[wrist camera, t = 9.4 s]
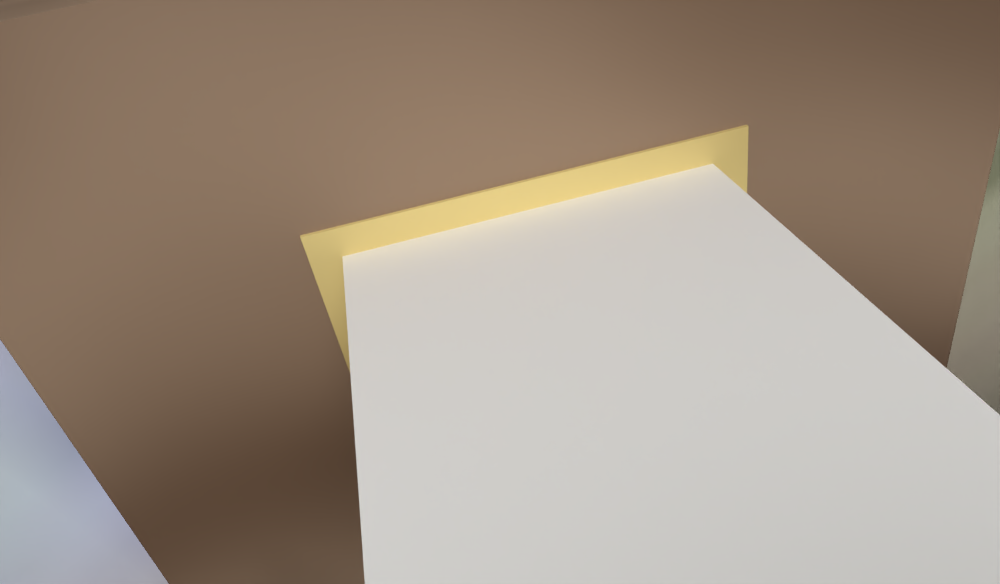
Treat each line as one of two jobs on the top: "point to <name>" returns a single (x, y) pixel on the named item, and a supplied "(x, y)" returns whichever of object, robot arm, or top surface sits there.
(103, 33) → the board
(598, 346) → the block
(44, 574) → the top surface
